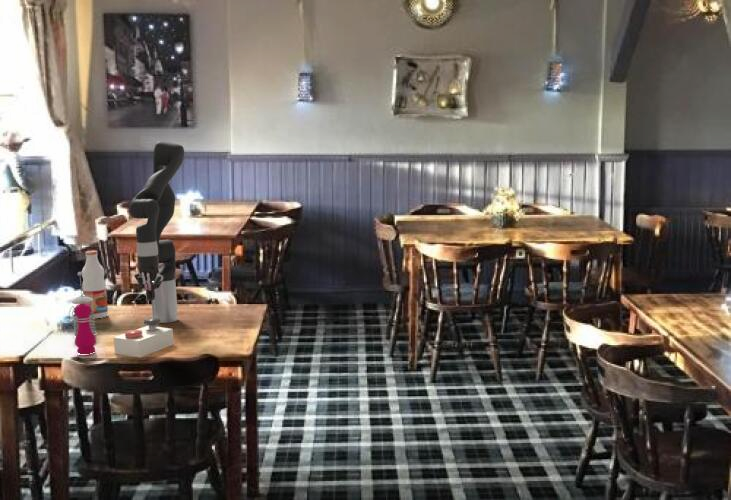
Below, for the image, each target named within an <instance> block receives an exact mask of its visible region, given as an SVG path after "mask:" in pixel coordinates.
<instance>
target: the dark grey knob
mask: <svg viewBox="0 0 731 500" xmlns="http://www.w3.org/2000/svg"><path fill="white" fill-rule="evenodd" d="M159 324H162V323H161V320H160V318H153V317H148V318H144V319H143V325H144V326H149V331H152V332H154V331H157V327H158V325H159Z"/></svg>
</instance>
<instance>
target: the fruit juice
mask: <svg viewBox="0 0 731 500" xmlns="http://www.w3.org/2000/svg"><path fill="white" fill-rule="evenodd" d="M98 253H99V252H98V250H87V251H85V257H86V258H85V264H84V266H83V268H82V270H81V272H82V274H83V275H81V276H82V279H83V281H82V295H83V294H84V295H85V296H86V297H90V298H92V299H93V301H92V302H89V303H84V304H88V305H89V306H90V307H91V309H92V313H94V318H101V319H104V318H103V317H105V318H107V317H108V316H109V307H108V296H107V295H108V294H107V286H106V285H107V284H106V280H105V278H104V277H105V268H104V267H103V266H102V265H101V263H100V262H99V258H98ZM106 316H107V317H106Z"/></svg>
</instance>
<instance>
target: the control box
mask: <svg viewBox="0 0 731 500" xmlns="http://www.w3.org/2000/svg"><path fill="white" fill-rule="evenodd" d="M156 327H157V331H154V332H152V331H149V325H144V326H143V327H140V328H137V329H136V330H141V331H142V336H141V337H137V338H126V337H125V333H122V334H119V335H117V336H115V337H113V345H114V346H113V348H114V354H116V355H122V356H128V357H135V358H142V357H144V356H148V355H150V354H152V353H153V354H154V353H155V352H158V351H160V350H163V349H165V348H168V347H170V346H173V345H174V330H173V328H168V327H160V326H156Z"/></svg>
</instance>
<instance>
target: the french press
mask: <svg viewBox="0 0 731 500" xmlns="http://www.w3.org/2000/svg"><path fill="white" fill-rule="evenodd" d="M82 275H83V274H82V271H78V272H77V276H79V281H80V283H79V285H82V280H81V276H82ZM80 293H81V295H80V296H77V297H75V298H73V299H72V300H71V303H72V304H75V305H78V304H80V300H84V301H85V303H89V302H92V301H93V299H92V298H90V297H86V296H83V288H80ZM75 305H72V306H71V307H70V309H69V312H68V319H69V322H70V323H71V325H73V331H74V333H73V334H74V335H75V336H76V335H77V333H78V322H77V321H76V320H77V319H76V318H77V316H76V315H75V314H74V309H75ZM72 308H73V309H72ZM71 310H72V312H71ZM91 310H92V309H91ZM70 314H71V316H70ZM70 317H71V318H70ZM90 317H91V318H90V319H91V320H90V328H91V331H92V332H93V334H96V333H98V331H96V324H95V321H96V320H95V319H94V313H92V311H91V314H90ZM71 319H72V321H71Z"/></svg>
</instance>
